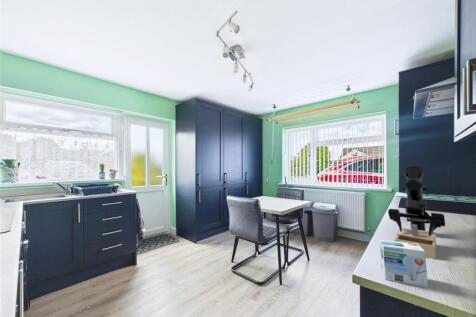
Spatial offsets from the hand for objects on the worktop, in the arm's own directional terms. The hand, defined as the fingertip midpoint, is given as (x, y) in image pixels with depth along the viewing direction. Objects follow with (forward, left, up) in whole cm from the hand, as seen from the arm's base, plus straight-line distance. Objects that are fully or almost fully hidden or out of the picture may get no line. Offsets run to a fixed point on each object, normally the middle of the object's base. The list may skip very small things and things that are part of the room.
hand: (414, 233), depth 84 cm
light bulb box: (+31, -1, -7) cm, 32 cm away
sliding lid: (-6, 0, -2) cm, 6 cm away
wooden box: (0, 0, -7) cm, 7 cm away
